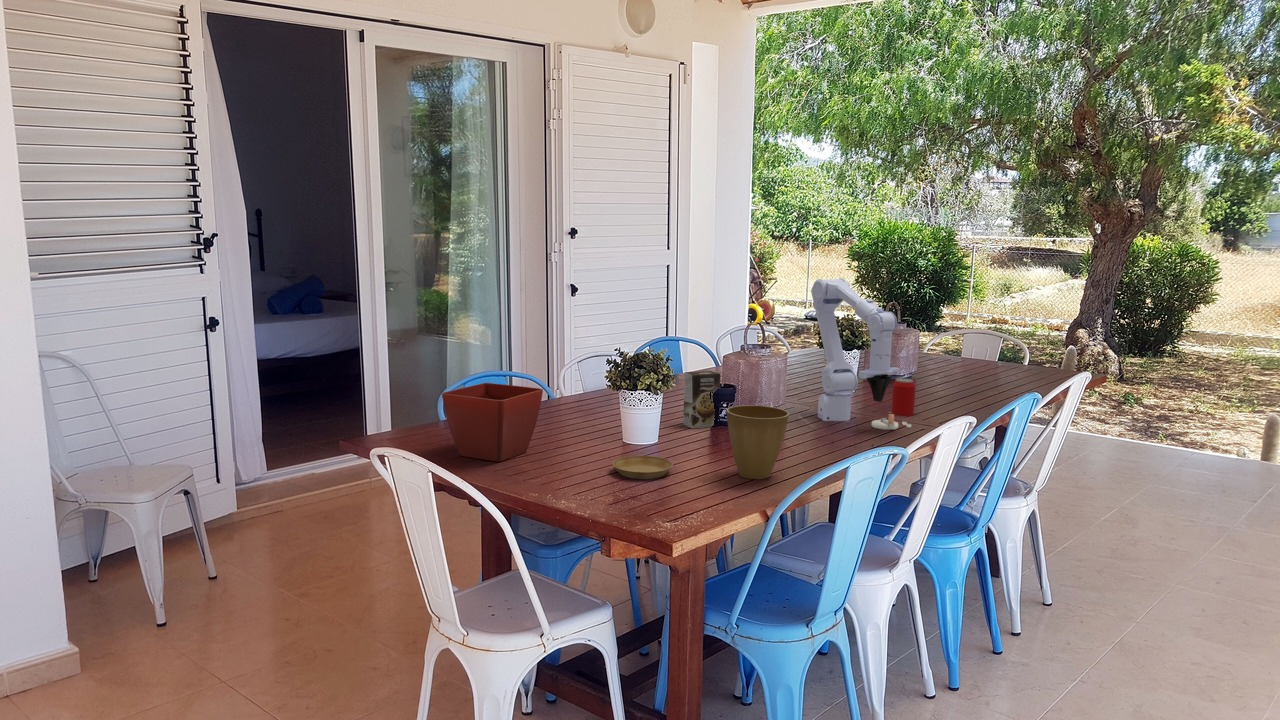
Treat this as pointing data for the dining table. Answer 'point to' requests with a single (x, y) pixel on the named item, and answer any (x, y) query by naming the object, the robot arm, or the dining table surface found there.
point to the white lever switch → (885, 423)
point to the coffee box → (700, 398)
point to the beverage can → (903, 397)
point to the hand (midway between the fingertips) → (877, 401)
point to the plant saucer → (642, 466)
